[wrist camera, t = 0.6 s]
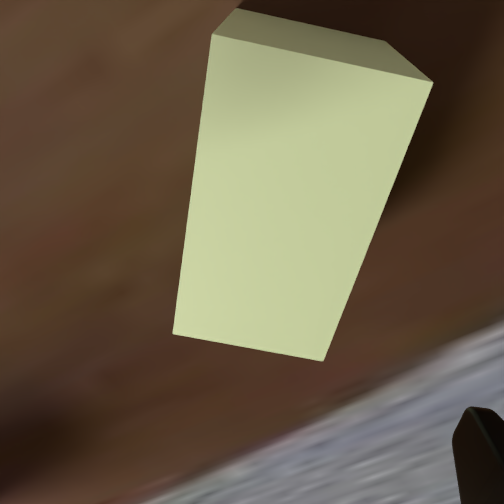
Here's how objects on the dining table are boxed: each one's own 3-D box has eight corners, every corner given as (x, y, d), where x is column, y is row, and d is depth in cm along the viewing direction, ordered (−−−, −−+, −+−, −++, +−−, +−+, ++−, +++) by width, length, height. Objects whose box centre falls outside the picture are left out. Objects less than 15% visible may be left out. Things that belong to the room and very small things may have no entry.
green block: (384, 40, 15) (433, 82, 10) (313, 259, 20) (323, 361, 15) (236, 7, 15) (212, 33, 10) (201, 237, 20) (172, 333, 15)
